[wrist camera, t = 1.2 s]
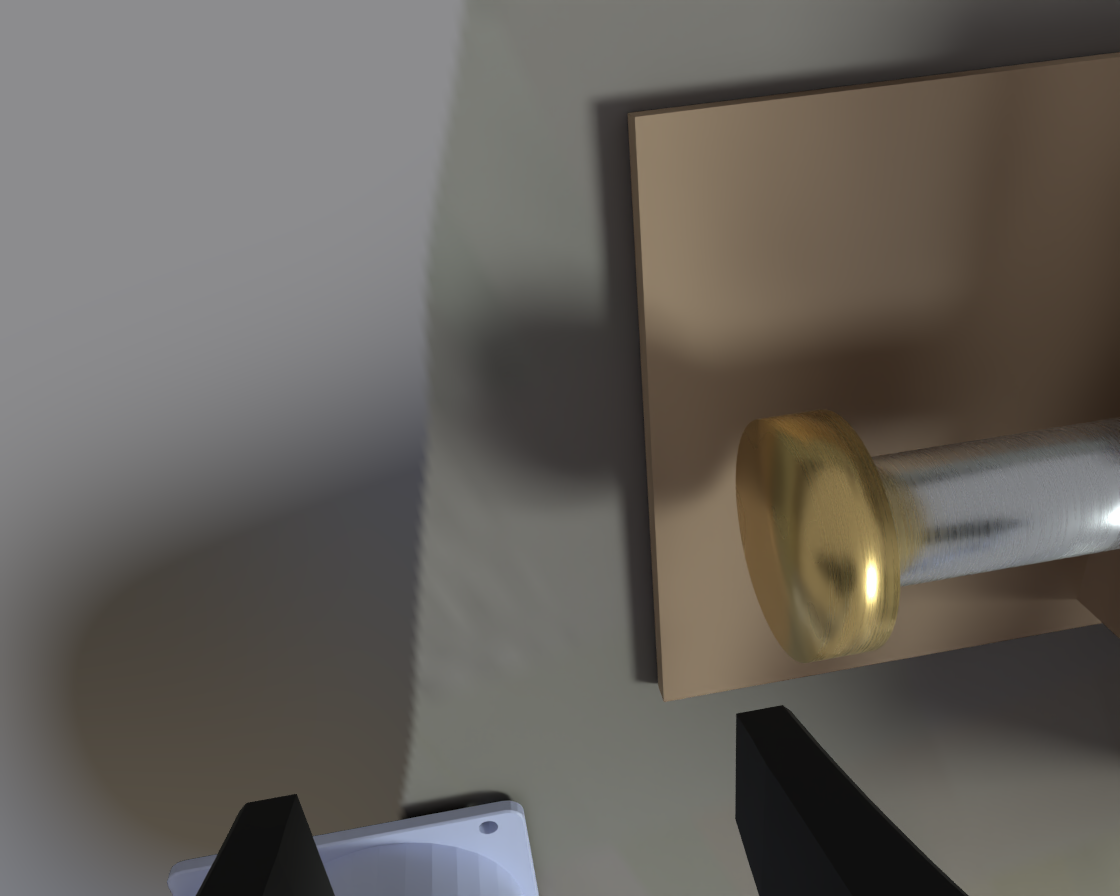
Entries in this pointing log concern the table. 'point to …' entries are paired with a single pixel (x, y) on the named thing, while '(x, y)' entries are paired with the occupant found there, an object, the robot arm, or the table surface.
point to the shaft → (907, 518)
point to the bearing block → (871, 324)
